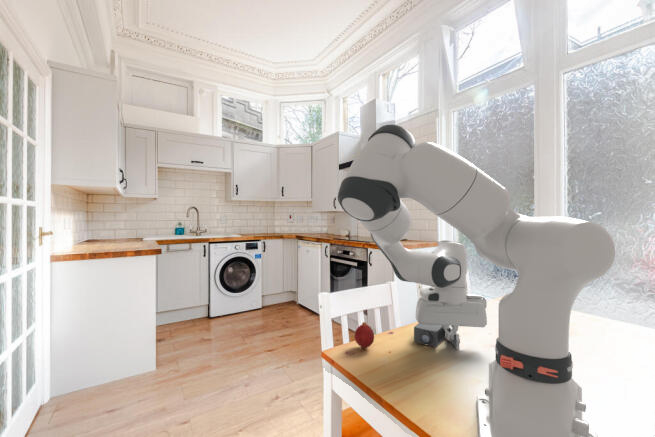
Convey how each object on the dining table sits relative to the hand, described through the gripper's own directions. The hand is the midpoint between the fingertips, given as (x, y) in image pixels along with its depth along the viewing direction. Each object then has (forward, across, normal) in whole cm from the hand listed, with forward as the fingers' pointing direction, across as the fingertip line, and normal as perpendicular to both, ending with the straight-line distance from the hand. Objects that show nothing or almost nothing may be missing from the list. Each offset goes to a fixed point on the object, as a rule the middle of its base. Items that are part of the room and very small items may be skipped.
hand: (449, 339), depth 89 cm
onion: (+3, +26, +4) cm, 27 cm away
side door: (+2, -2, -3) cm, 4 cm away
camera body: (+2, +5, -5) cm, 7 cm away
